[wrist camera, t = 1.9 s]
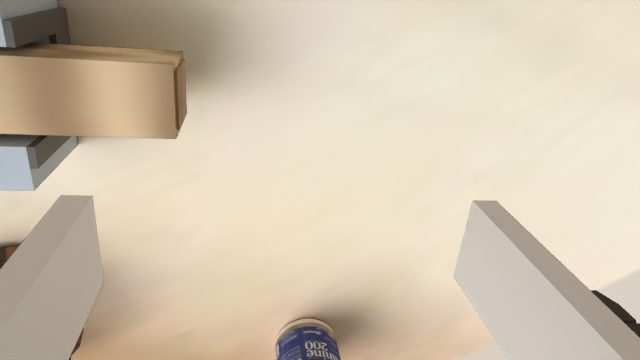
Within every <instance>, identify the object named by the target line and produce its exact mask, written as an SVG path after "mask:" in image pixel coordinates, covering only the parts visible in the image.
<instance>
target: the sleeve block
mask: <svg viewBox="0 0 640 360" xmlns="http://www.w3.org/2000/svg"><path fill="white" fill-rule="evenodd" d="M30 42H31V43H48V44H65V45H70V39H69V32H68V24H67V17H66V10H65V8H58V4H57V0H0V47H13V48H16V47H19V46H22V45H25V44H27V43H30ZM77 145H78V143H77V136H59V135H24V134H0V190H7V191H35V189H36V188H37V187H38V186H39V185H40V184H41V183H42V182H43V181H44V180H45V179H46V178H47V177H48V176H49V175H50V174H51V173H52V172H53V171H54V169H55V168H56V167H57V166H58V165H59V164H60V163H61V162H62V161H63V160H64V159H65V158H66V157H67V156H68V155H69V154H70V153H71V152H72V150H73V149H74V148H75V147H76V146H77Z"/></svg>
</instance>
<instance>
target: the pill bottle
mask: <svg viewBox="0 0 640 360" xmlns="http://www.w3.org/2000/svg"><path fill="white" fill-rule="evenodd" d="M275 348H276V349H275V352H276V360H341V359H340V355H339V350H338V346H337V342H336V339H335V335H334V332H333V330H332V329H331V328H330V327H329V326H328V325H327V324H326V323H324V322H322V321H319V320H315V319H301V320H297V321H294V322H292V323H290V324H288V325H287V326H286V327H284V328H283V329H282V330H281V332H280V333H279V335H278V337H277V339H276V344H275Z"/></svg>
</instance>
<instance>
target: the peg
mask: <svg viewBox="0 0 640 360" xmlns="http://www.w3.org/2000/svg"><path fill="white" fill-rule="evenodd" d="M186 113H187V107H186V81H185V60H183V51H168V50H150V49H133V48H116V47H99V46H82V45H65V44H48V43H31V42H30V43H27V44H25V45H22V46H19V47H16V48H13V47H0V134H24V135H59V136H93V137H127V138H162V139H176V138H177V136H178V133H179V131H180V129H181V126H182V124H183V121H184V119H185V116H186Z"/></svg>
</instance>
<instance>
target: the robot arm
mask: <svg viewBox="0 0 640 360" xmlns="http://www.w3.org/2000/svg"><path fill="white" fill-rule="evenodd" d="M454 278H455V280H456V281H457V283H458V284H459V286H460V287H461V289H462V290H463V292H464V293H465V295H466V297H467V298H468V300H469V301H470V303H471V304H472V306H473V307H474V309H475V310H476V312H477V313H478V315H479V316H480V318H481V319H482V321H483V322H484V324H485V326H486V327H487V329H488V330H489V332H490V333H491V335H492V336H493V338H494V339H495V341H496V342H497V344H498V345H499V347H500V348H501V350H502V351H503V353H504V354H505V356H506V358H507V359H508V360H640V324H637V323H636V320H635V319H634V318H633V317H632V316H631V315H630V314H629V313H628V312H627V311H625V310H624V309H623V308H622V307H621V306H620V305H619V304H617V303H616V302H614V301H612V300H611V299H609V298H607V297H606V296H604V295H602V294H601V293H599V292H598V291H596V290H593V291H590V290H589V289H588V288H587V287H586V286H585V285H584V284H583V283H582V282H581V281H580V280H579V279H578V278H577V277H576V276H575V275H573V274H572V273H571V272H570V271H569V270H568V269H567V268H566V267H565V266H564V265H563V264H562V263H561V262H560V261H559V260H558V259H557V258H556V257H555V256H554V255H553V254H551V253H550V252H549V251H548V250H547V249H546V248H545V247H544V246H543V245H542V244H541V243H540V242H539V241H538V240H537V239H536V238H535V237H534V236H533V235H532V234H531V233H529V232H528V231H527V230H526V229H525V228H524V227H523V226H522V225H521V224H520V223H519V222H518V221H517V220H516V219H515V218H514V217H513V216H512V215H511V214H510V213H509V212H508V211H506V210H505V209H504V208H503V207H502V206H501V205H500V204H499V203H498V202H497V201H472V204H471V208H470V212H469V217H468V221H467V225H466V229H465V233H464V237H463V241H462V245H461V249H460V253H459V257H458V261H457V265H456V269H455V273H454ZM103 283H104V279H103V272H102V264H101V256H100V249H99V241H98V234H97V226H96V219H95V211H94V204H93V196H67V195H61V196H60V197H59V198H58V199H57V201H56V202H55V203H54V204H53V206H52V207H51V208H50V209H49V210H48V212H47V213H46V214H45V215H44V217H43V218H42V219H41V220H40V221H39V223H38V224H37V225H36V226H35V228H34V229H33V230H32V231H31V232H30V234H29V235H28V236H27V237H26V239H25V240H24V241H23V242H22V243H21V245H20V246H19V247H18V248H17V250H16V251H15V252H14V253H13V254H12V256H11V257H10V258H9V259H8V261H7V262H6V263H5V264H4V265H3V267H2V268H1V269H0V360H69V358H70V356H71V353H72V351H73V349H74V347H75V345H76V342H77V340H78V338H79V336H80V334H81V331H82V329H83V327H84V325H85V323H86V321H87V318H88V316H89V314H90V312H91V310H92V307H93V305H94V303H95V301H96V299H97V296H98V294H99V292H100V290H101V288H102V286H103Z"/></svg>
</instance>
